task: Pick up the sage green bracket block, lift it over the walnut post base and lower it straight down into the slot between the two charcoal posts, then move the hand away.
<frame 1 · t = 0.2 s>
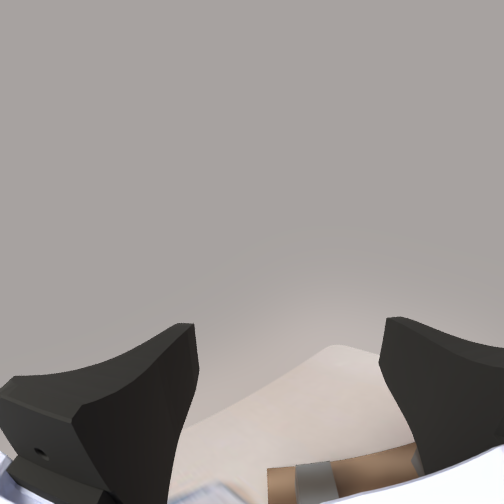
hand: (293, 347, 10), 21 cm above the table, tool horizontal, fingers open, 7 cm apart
post base: (374, 494, 19), on the table
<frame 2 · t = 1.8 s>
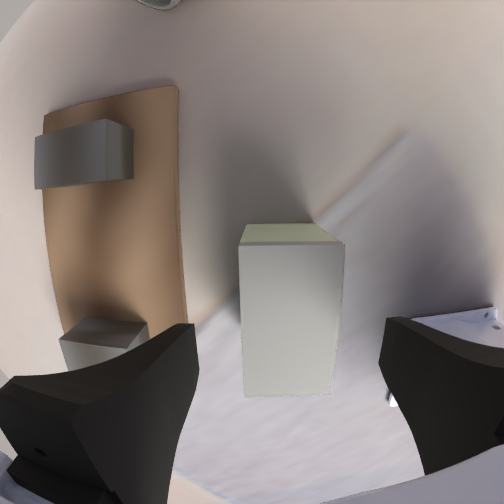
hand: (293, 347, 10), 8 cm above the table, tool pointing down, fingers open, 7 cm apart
post base: (110, 251, 18), on the table
bracket block: (280, 280, 18), on the table
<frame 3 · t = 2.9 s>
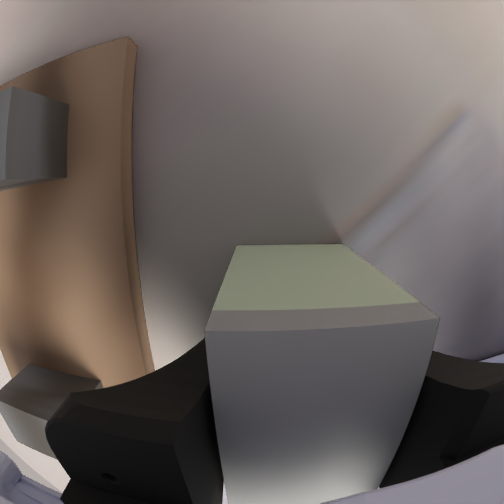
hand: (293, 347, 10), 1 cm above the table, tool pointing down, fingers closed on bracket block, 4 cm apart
post base: (49, 280, 12), on the table
bracket block: (289, 330, 12), on the table, touching gripper
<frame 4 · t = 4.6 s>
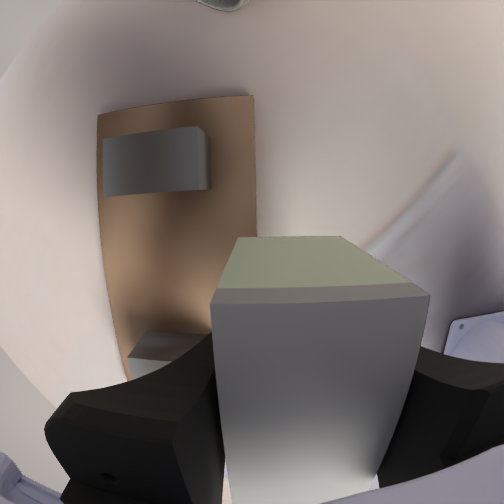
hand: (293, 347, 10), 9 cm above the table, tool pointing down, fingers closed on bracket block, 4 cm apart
post base: (178, 262, 19), on the table
bracket block: (289, 320, 12), point 7 cm above the table, touching gripper
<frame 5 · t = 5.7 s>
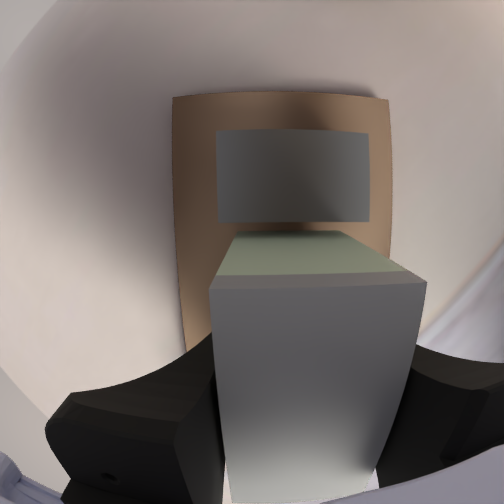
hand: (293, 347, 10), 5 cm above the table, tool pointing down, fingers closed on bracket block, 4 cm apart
post base: (284, 301, 15), on the table
bracket block: (288, 314, 12), point 3 cm above the table, touching gripper
when the fingers open (3 cm above the table, at t = 6.3 s): bracket block stays where it is, resting on post base.
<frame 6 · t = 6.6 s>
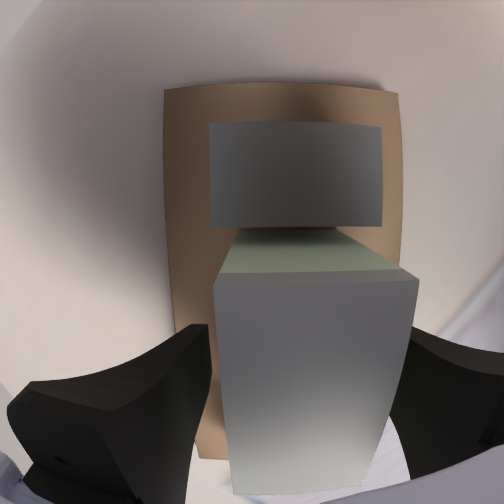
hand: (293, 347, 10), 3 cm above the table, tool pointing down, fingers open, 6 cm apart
post base: (285, 310, 14), on the table
bracket block: (288, 311, 13), point 1 cm above the table, touching post base
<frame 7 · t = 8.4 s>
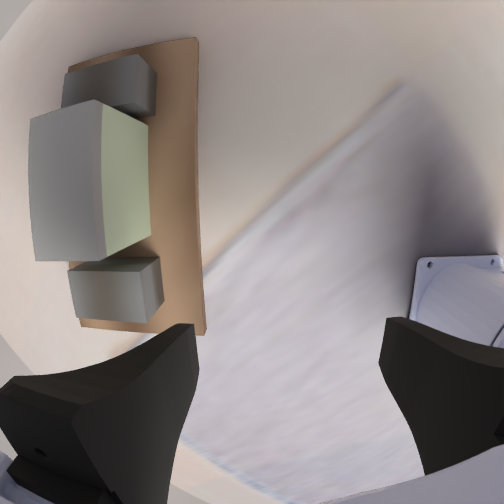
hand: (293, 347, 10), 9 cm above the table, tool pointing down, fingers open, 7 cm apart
post base: (126, 188, 19), on the table
bracket block: (120, 182, 18), point 1 cm above the table, touching post base
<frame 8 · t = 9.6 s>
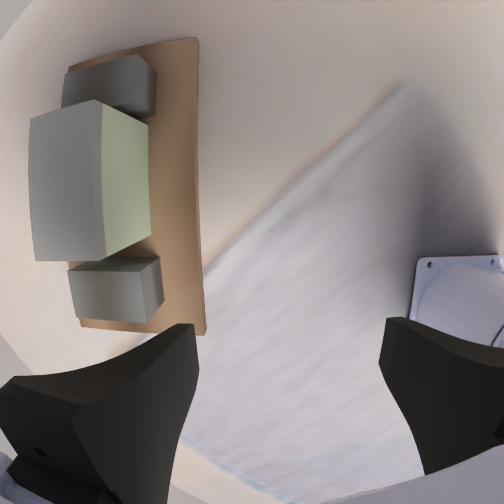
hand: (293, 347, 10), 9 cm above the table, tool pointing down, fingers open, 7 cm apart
post base: (126, 188, 19), on the table
bracket block: (120, 182, 18), point 1 cm above the table, touching post base
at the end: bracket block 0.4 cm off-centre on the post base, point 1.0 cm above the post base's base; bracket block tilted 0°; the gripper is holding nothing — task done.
